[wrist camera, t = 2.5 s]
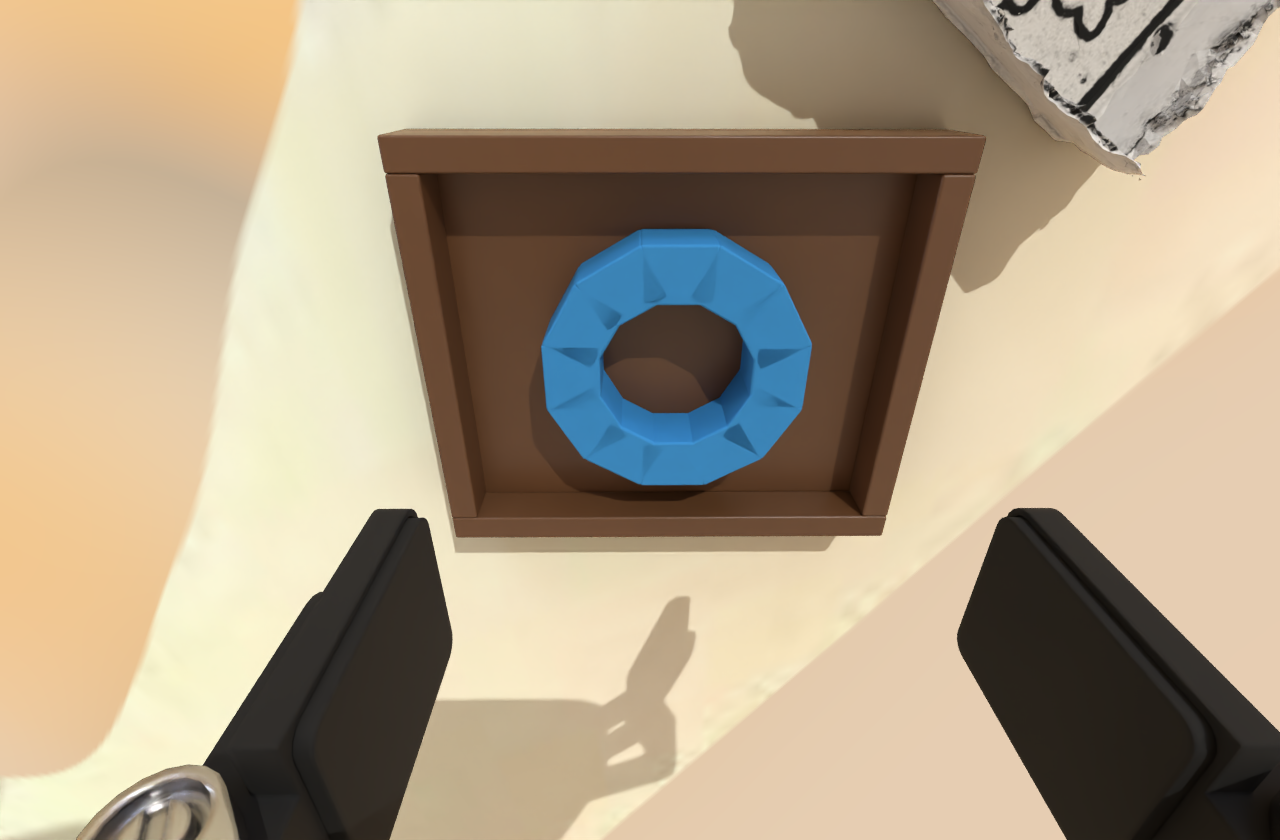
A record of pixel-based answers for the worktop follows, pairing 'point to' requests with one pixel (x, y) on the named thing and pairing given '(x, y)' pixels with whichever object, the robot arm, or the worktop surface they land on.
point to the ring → (675, 276)
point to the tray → (675, 311)
